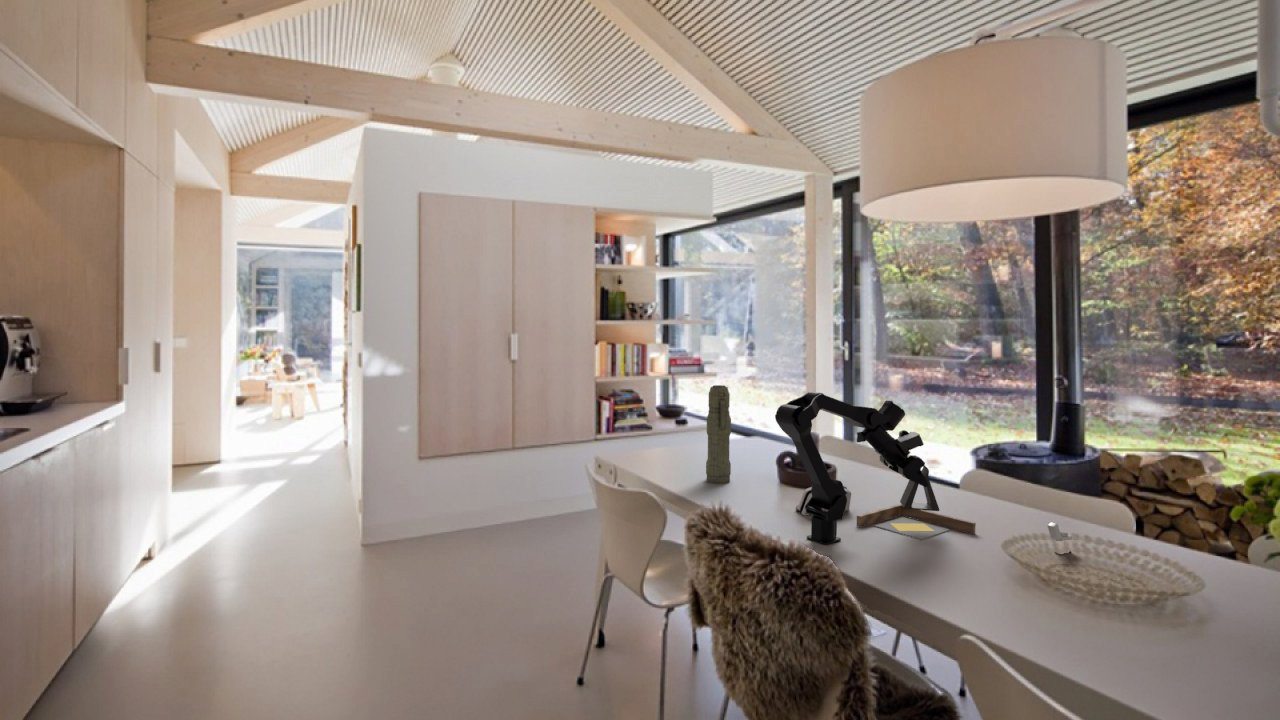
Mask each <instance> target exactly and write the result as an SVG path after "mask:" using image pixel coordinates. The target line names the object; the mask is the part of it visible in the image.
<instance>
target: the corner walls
mask: <svg viewBox="0 0 1280 720" xmlns="http://www.w3.org/2000/svg"><path fill="white" fill-rule="evenodd" d="M900 516H902V517H905V516H907V517H906V518H909V517H911V518H910V519H913V518H914V519H913V520H917V519H918V520H917V521H920V520H921V521H920V522H923V523H927V524H931V525H935V526H938V527H942V528H946V529H950V530H955V531H957V532H958V531H959V532H962V533H965V534H966V533H967V534H970V535H975V534H976V527H977V526H976V523H977V522H974V521H969V520H966V519H963V518H962V519H961V518H958V517H954V516H950V515H945V514H942V513H938V512H935V511H928V510H922V509H921V510H914V509H905V508H904V507H903V506H902V504H901V503H900V504H898V503H897V504H895V505H891V506H886V507H883V508H880V509H876V510H871V511H868V512H865V513H861V514H857V515H856V527H858V526H859V528H862V527H865V525H866V526H869V525H872V523H873V524H876V523H878V522H882V521H886V520H890V519H893V518H895V517H900Z"/></svg>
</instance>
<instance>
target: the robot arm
mask: <svg viewBox="0 0 1280 720" xmlns="http://www.w3.org/2000/svg"><path fill="white" fill-rule="evenodd" d="M882 404H883V405H882V406H881V407H880V408H879V409H877V408H876V407H875V408H874V407H867V406H862V405H854V404H853V405H852V404H850V403H848V402H844V401H842V400H839V399H836V398H833V397H831V396H828V395H826V394H824V393H823V392H815V391H808V392H806V393H804V394H803V395H802V396H800V397H799V396H798V397H797V398H795V399H793V400H790V401H788V402H787V403H785V404H781V405H780V406H779V407H778V408H777V410H776V413H775V416H774V417H775V422H776V423H777V425H778V426H779V427H780V429H781V430H782V432H784V433H785V434H786V435H787V436H788V437H789V438H790V439H791V441H792V442H793V445H794V446H795V449H796V451H797V452H798V455H799V457H800V459H801V462H802V464H803V466H804V469H805V470H806V472H807V474H808V476H809V479H810V481H811V487H812V488H811V493H812V497H811V499H810V500H809V501H808V503H807V504H806V506H805V510H806V513H807V514H811V515H810V516H811V527H810V530H811V534H810V535H806V539H808V540H811V541H813V542H817V543H819V544H822V545H830V544H833V543H836V542H840V541H841V539H842V538H841V537H838V536H837V533H838V532H837V530H838V529H837V528H838V526H837V525H838V522H837V521H841V520H843V518H844V515H845V512H846V511H845V507H846V504H847V497H846V495H845V494H847V492H846V491H845V490H844V487H843V486H844V484H843V482H842V481H841V480H838V479H835V478H832V477H831V476H830V472H829V471H828V469H827V467H826V464H825V462H824V460H823V458H822V456H821V454H820V452H819V450H818V449H819V448H818V447H817V445H816V442H815V440H814V438H813V435H812V427H813V420H814V419H816V418H817V417H818V415H819V412H820V411H823V412H826V413H828V414H832V415H834V416H837V417H840V418H842V419H843V420H845V422H846V423H848V424H850V425H851V426H853V427H857V428H863V430H862V431H858V432H856V435H857V436H856V442H857V443H861V442H862V443H864V442H867V443H868V444H869V446H871V447H872V448H873V449H874V452H875V453H876V454H878V455H879V461H880V463H881V464H883V466H886V467H888V469H890V470H892V471H893V472H895V473H897V474H900V475H901V476H902V477H903V478H905V479H906V480H908V481H909V480H911V481H913V482H915V483H917V484H919V485H920V486H921V487H923V486H924V487H927V486H928V483H927V481H926V479H925V477H924V475H923V474H922V472H921V471H922V469H923V466H924V465H925V466H926V462H925V461H924V460H923V459H922V457H919V456H917V455H914V454H913V455H910V454H911V451H912V450H914V449H917V448H918V447H922V446H924V442H923V439H922V437H921V435H920V433H918V432H915V431H910V432H909V431H907V430H905V429H902V430H901V431H898V437H897V438H894V436H892V435H890V433H889V432H888V431H894V430H895V429H896V427H897V426H898V425H899V424H900V422H901V421H902V420H903V419H904V418H905V416H906V411H905V410H904V409H903V408H901V407H900V406H899V405H898V404H896V403H894V401H893V400H887V399H886V400H885V401H884V403H882ZM924 487H923V488H924ZM822 508H824V509H826V510H828V512H827V511H824V510H821V509H822Z"/></svg>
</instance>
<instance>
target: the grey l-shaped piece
mask: <svg viewBox="0 0 1280 720" xmlns="http://www.w3.org/2000/svg"><path fill="white" fill-rule="evenodd" d="M1047 529H1048V532H1049V536H1050V538H1051V540H1053V541H1055V540H1056V541H1063V540H1072V541H1073V535H1070V534H1069V533H1068V531H1065V530H1062V531H1060V528H1059V525H1058V523H1055V522H1050V523H1049V524H1047Z"/></svg>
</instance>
